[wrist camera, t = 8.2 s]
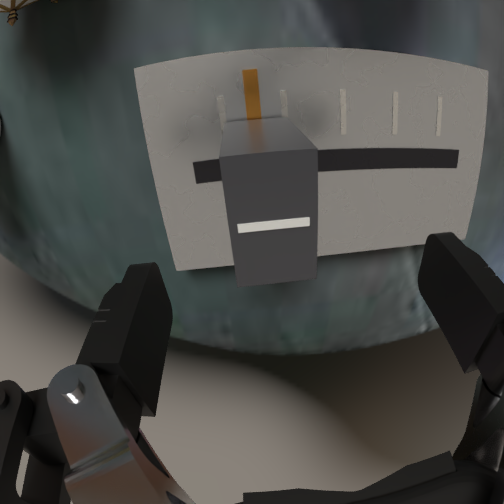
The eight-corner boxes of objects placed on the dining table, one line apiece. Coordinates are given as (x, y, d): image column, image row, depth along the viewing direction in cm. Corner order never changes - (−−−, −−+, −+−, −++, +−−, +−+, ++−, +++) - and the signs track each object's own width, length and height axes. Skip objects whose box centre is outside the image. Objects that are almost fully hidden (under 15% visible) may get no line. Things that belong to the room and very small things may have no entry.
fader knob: (287, 116, 14) (318, 149, 9) (291, 209, 17) (316, 279, 12) (224, 122, 14) (218, 157, 9) (235, 215, 17) (237, 288, 12)
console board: (469, 67, 14) (488, 71, 13) (451, 225, 21) (465, 239, 19) (144, 67, 14) (133, 68, 13) (180, 252, 21) (176, 271, 19)
